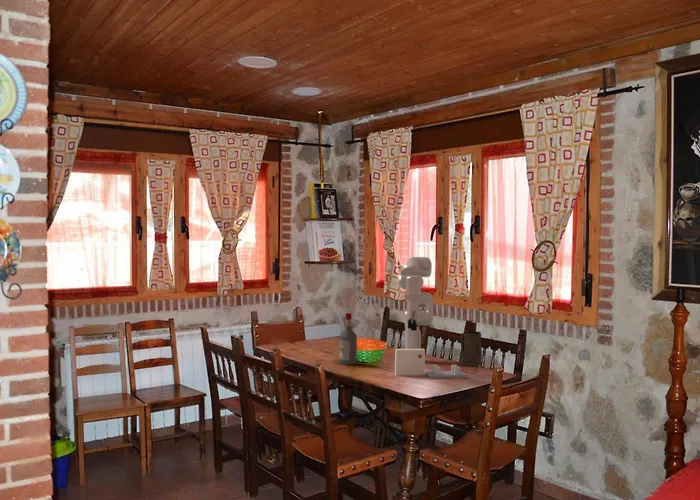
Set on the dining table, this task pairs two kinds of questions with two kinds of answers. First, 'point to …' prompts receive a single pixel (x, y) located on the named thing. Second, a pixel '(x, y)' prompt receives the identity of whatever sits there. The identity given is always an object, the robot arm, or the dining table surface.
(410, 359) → the cabinet door
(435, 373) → the hinge plate
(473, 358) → the beer stein
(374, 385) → the dining table surface
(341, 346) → the liquor
